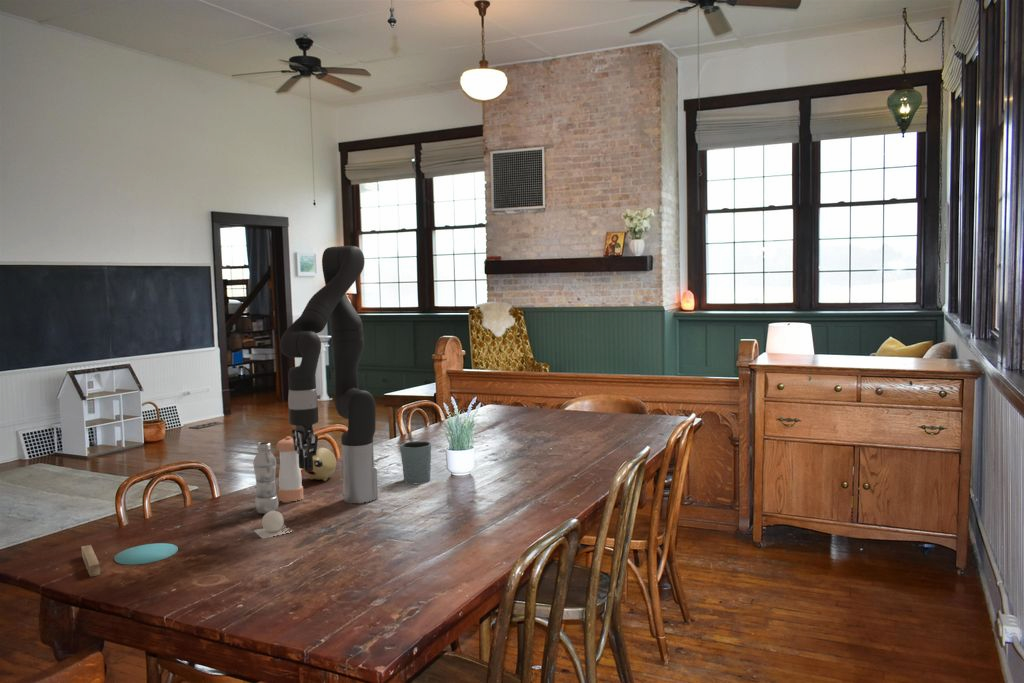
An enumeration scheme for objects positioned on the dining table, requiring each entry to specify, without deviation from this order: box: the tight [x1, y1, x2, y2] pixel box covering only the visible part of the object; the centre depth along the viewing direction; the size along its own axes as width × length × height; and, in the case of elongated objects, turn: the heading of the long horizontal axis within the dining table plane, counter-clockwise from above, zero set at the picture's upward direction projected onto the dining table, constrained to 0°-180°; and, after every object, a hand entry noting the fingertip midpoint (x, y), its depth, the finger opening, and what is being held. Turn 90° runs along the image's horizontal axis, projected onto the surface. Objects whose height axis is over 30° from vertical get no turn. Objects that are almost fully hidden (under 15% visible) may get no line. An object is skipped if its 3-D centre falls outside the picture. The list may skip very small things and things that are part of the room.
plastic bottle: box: [252, 441, 280, 514], centre depth 217 cm, size 6×7×20 cm
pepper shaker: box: [275, 435, 304, 503], centre depth 230 cm, size 7×7×19 cm
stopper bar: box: [81, 544, 101, 578], centre depth 179 cm, size 2×16×2 cm, turn 35°
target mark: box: [113, 542, 179, 566], centre depth 186 cm, size 14×14×1 cm
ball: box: [261, 510, 285, 532], centre depth 201 cm, size 6×6×6 cm
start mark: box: [253, 523, 293, 540], centre depth 201 cm, size 8×8×1 cm
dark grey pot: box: [399, 440, 432, 484], centre depth 249 cm, size 10×10×12 cm
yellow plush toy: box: [301, 447, 337, 482], centre depth 252 cm, size 10×12×11 cm
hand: (306, 469), depth 205 cm, fingers open, 3 cm apart
